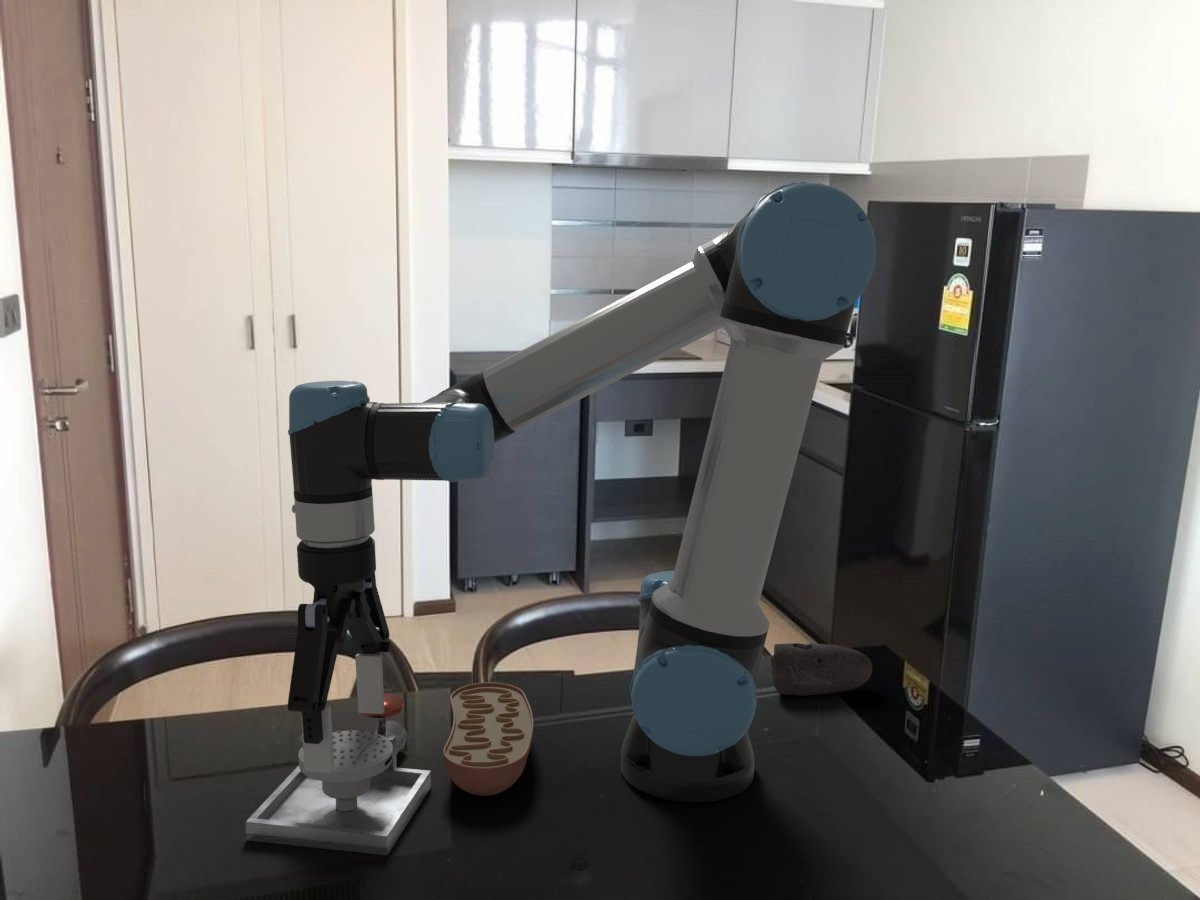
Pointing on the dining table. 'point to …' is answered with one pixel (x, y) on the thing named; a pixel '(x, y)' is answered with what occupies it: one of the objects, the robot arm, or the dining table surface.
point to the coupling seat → (369, 828)
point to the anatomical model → (488, 737)
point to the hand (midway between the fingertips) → (347, 739)
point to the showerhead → (352, 765)
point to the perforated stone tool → (818, 669)
